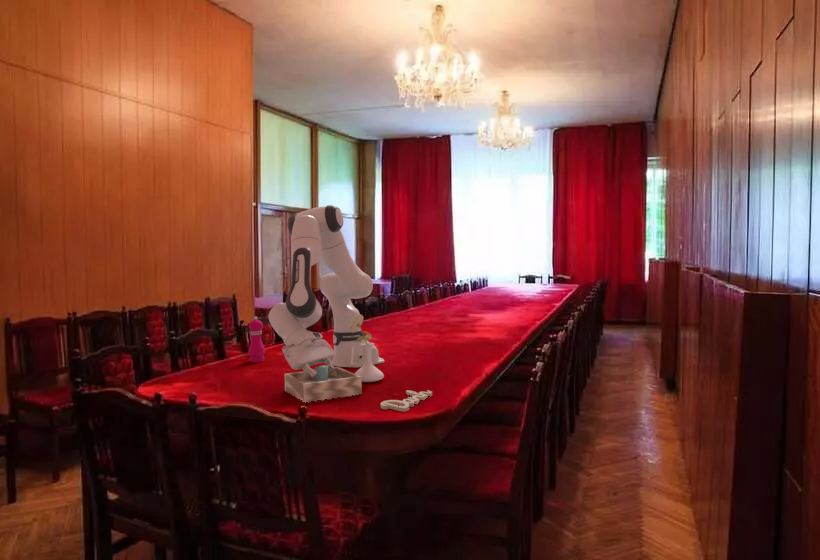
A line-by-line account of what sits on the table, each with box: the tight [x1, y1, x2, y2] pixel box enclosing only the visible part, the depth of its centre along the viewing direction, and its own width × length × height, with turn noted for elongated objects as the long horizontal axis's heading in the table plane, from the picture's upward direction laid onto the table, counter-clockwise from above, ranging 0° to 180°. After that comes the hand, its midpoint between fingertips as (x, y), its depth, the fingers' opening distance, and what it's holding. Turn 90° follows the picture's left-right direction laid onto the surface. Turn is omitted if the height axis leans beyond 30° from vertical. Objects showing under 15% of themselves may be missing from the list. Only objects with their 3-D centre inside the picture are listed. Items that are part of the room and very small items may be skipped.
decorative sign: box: [380, 389, 433, 413], centre depth 194 cm, size 23×2×10 cm
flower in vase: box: [349, 314, 385, 383], centre depth 224 cm, size 13×11×25 cm
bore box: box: [284, 366, 363, 404], centre depth 209 cm, size 20×20×6 cm
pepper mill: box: [248, 315, 266, 363], centre depth 272 cm, size 7×7×20 cm
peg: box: [315, 364, 328, 382], centre depth 209 cm, size 4×4×9 cm
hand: (323, 372), depth 208 cm, fingers open, 8 cm apart
